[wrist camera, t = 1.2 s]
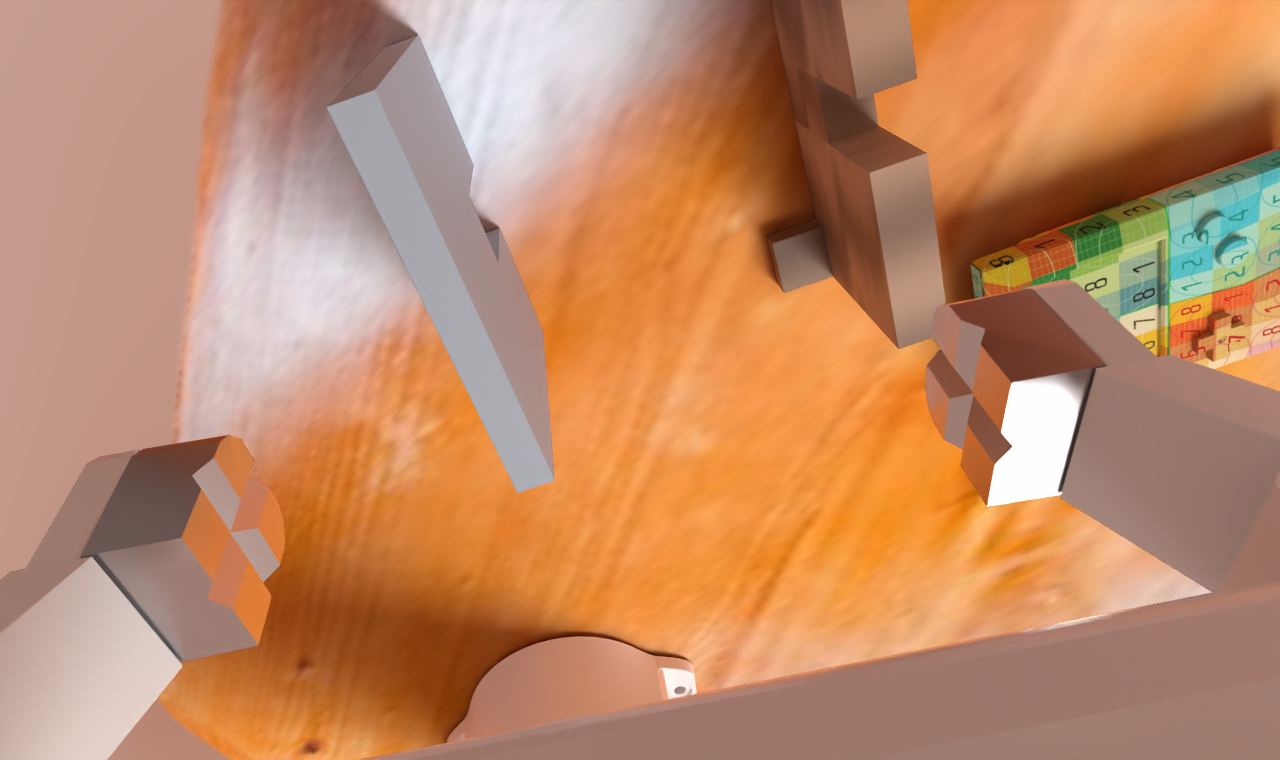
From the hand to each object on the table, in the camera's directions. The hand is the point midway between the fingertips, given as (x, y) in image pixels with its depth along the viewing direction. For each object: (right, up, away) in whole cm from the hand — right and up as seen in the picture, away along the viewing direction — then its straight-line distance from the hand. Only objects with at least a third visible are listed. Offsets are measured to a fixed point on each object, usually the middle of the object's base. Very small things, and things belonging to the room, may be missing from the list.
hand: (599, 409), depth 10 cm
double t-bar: (+9, +15, +31) cm, 36 cm away
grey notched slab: (-8, +9, +32) cm, 34 cm away
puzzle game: (+29, +7, +40) cm, 50 cm away
